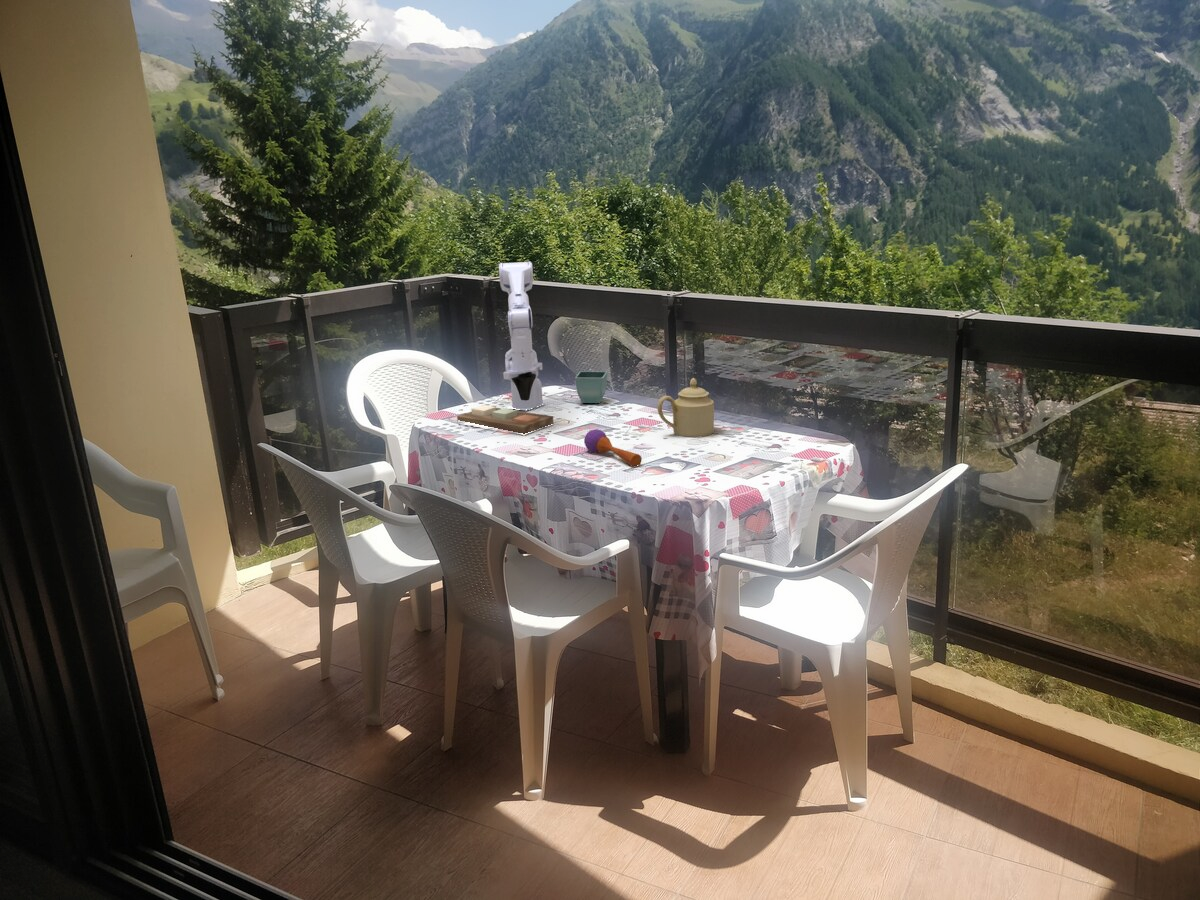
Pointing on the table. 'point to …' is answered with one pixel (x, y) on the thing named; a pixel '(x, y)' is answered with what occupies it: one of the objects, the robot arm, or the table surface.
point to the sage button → (504, 413)
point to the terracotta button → (526, 418)
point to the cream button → (483, 410)
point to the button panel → (508, 421)
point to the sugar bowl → (690, 412)
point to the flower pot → (591, 386)
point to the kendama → (608, 447)
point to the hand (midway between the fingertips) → (525, 399)
